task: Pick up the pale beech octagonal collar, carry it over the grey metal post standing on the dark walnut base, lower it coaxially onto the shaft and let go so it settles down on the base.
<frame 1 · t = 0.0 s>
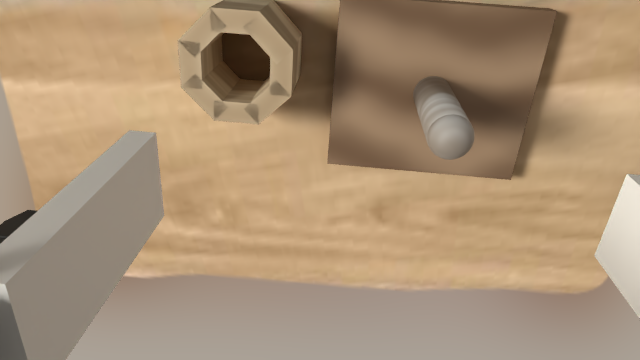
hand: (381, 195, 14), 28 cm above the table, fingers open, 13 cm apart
collar: (251, 50, 40), on the table
post base: (429, 88, 41), on the table
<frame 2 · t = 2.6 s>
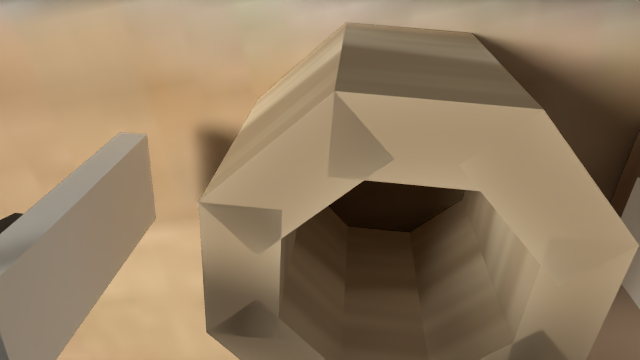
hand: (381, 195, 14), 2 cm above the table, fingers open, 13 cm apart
collar: (388, 162, 15), on the table
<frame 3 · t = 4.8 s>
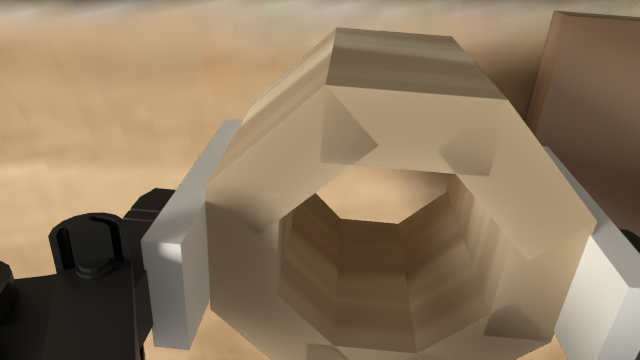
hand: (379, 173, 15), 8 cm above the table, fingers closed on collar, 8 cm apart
collar: (377, 157, 16), point 6 cm above the table, touching gripper
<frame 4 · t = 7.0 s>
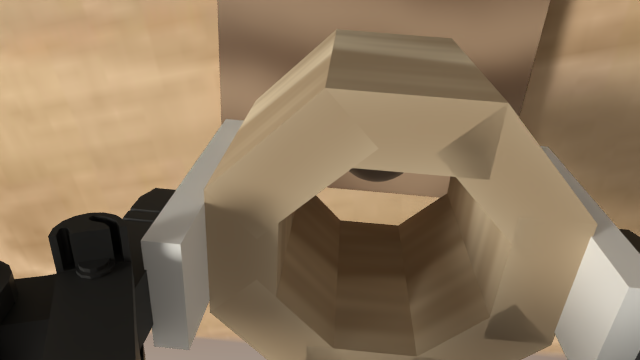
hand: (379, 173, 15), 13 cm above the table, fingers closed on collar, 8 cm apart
collar: (377, 159, 16), point 12 cm above the table, touching gripper
post base: (371, 65, 27), on the table
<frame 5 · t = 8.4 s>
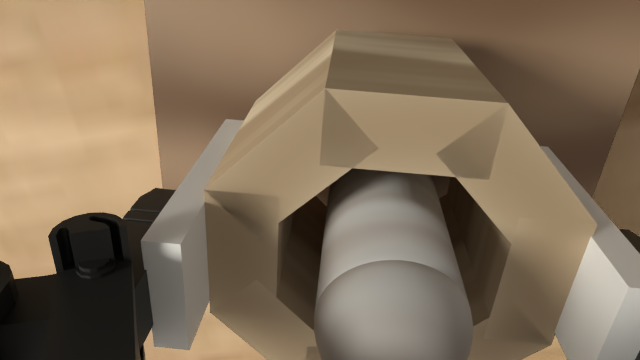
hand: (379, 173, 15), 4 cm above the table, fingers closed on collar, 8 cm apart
collar: (377, 159, 16), point 3 cm above the table, touching gripper
post base: (375, 125, 19), on the table
when the fingers open (3 cm above the table, at t = 9.4 s): collar stays where it is, resting on post base.
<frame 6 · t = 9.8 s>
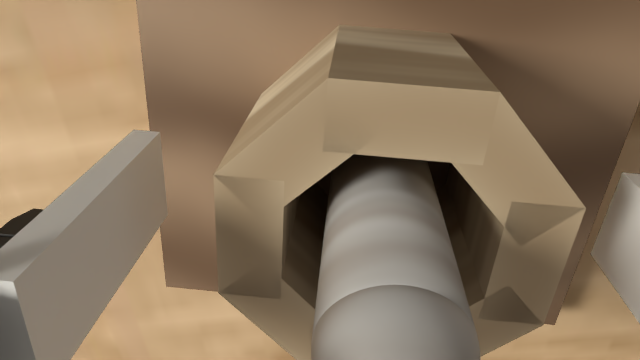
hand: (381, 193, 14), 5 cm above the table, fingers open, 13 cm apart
collar: (378, 151, 17), point 1 cm above the table, touching post base
post base: (376, 133, 18), on the table
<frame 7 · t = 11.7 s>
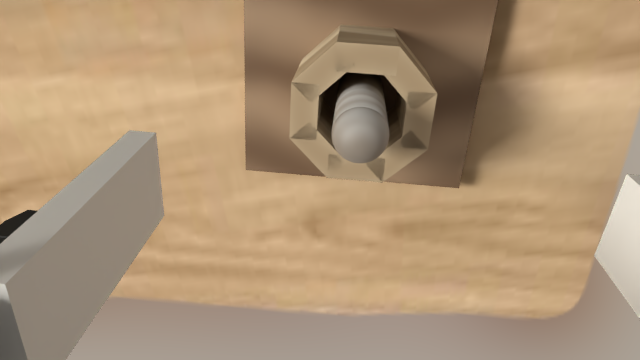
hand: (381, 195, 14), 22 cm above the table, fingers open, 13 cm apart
collar: (360, 88, 33), point 1 cm above the table, touching post base
post base: (360, 81, 35), on the table
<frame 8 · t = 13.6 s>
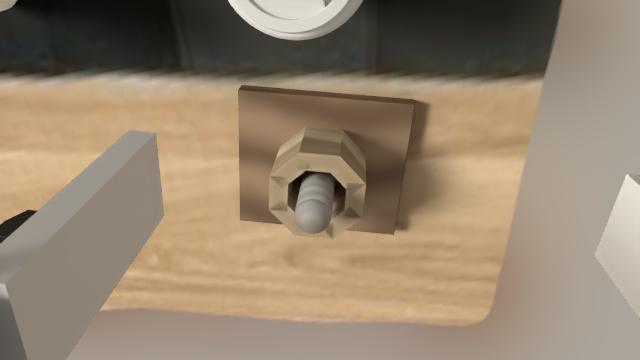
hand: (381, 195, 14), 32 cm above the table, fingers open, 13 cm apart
collar: (321, 167, 47), point 1 cm above the table, touching post base
post base: (322, 160, 49), on the table
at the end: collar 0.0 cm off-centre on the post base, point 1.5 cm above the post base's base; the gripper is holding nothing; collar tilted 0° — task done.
